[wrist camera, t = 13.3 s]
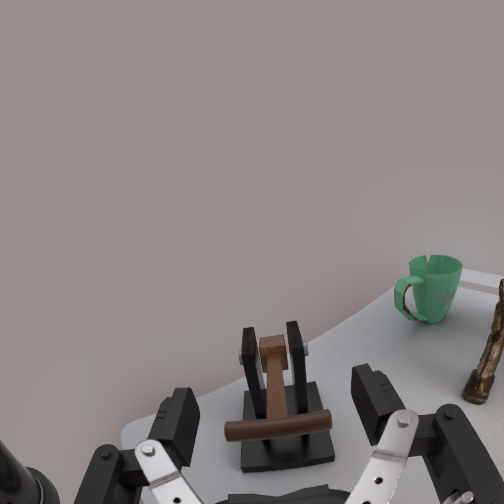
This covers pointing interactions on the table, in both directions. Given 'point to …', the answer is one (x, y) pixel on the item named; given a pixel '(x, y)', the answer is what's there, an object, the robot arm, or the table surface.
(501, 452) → the table surface
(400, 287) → the mug
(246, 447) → the bracket
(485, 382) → the figurine
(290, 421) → the lever
